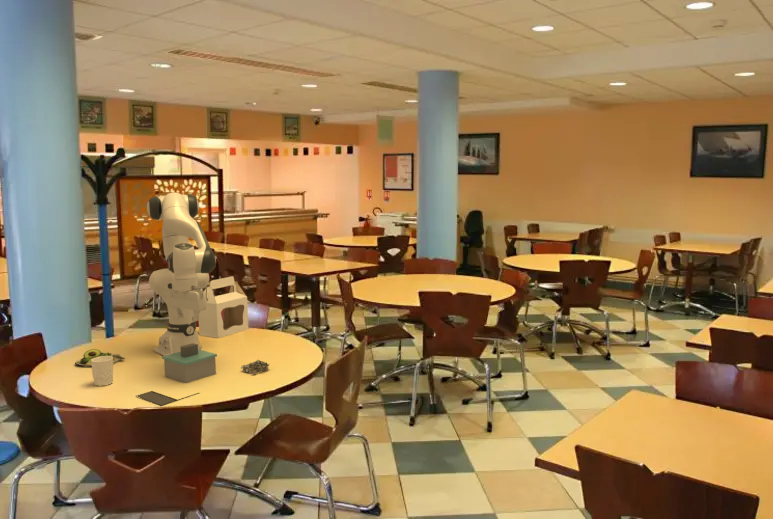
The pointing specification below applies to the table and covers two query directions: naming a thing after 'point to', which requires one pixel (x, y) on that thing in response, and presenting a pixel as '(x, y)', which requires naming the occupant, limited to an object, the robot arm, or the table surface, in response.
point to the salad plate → (93, 354)
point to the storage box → (190, 370)
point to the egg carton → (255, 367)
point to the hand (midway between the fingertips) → (187, 319)
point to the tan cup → (102, 370)
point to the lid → (189, 355)
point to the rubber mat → (159, 398)
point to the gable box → (233, 312)
